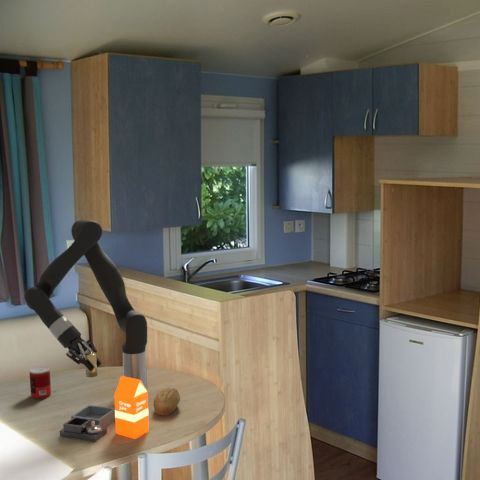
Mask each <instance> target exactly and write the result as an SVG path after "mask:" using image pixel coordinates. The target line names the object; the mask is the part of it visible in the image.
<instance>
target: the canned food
mask: <svg viewBox="0 0 480 480" xmlns="http://www.w3.org/2000/svg"><path fill="white" fill-rule="evenodd" d="M50 369H51V368H50V367H48V366H44V365H43V366H35V367H33V368H31V369H29V386H30V396H31V398H32V399H34V400H42V399H46V398H49V397H50V396H51V395H52V387H51V386H52V385H51V370H50Z"/></svg>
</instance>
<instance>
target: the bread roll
mask: <svg viewBox="0 0 480 480" xmlns="http://www.w3.org/2000/svg"><path fill="white" fill-rule="evenodd" d="M180 401H181V395H180V393H179V390H178V389H176V388H171V387H170V388H169V387H168V388H162V389H161V390H159V391H158V392H157V393H156V395H155V396H154V399H153V408H154V411H155V413H156V414H157V415H159V416H162V417H166V416H168V415H170V414H172V413H173V412H174V411H175V410H176V408H178V405H179V403H180Z"/></svg>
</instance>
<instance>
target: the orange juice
mask: <svg viewBox="0 0 480 480" xmlns="http://www.w3.org/2000/svg"><path fill="white" fill-rule="evenodd" d="M148 392H149V391H148V389H147V390H146V388H145V387H144V385H143V384H142V382H141V381H140V380H139V379H134V378H130V377H125V376H123V375H121V376H120V379H119V382H118V384H117V387H116V389H115V392H114V396H113V397H114V408H115V420H114V421H115V434H117V435H120V436H124V437H126V438H131V439H134V440H136V439H139V438H140V437H141V436H143V435H144V434H147V433H149V431H150V428H149V425H150V424H149V397H148V396H149V395H148V394H149V393H148Z"/></svg>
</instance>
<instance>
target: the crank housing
mask: <svg viewBox="0 0 480 480" xmlns="http://www.w3.org/2000/svg"><path fill="white" fill-rule="evenodd" d="M58 433H59V437H61V438H67V439H72V440H73V439H74V440H78V441H85V442H92V443H95V442H97V441H98V440H100V438H102V437H103V436H105V435H106V434H108V429H107V426H106V427H101V426H100V425H95V421H92V419H87V418H81V417H74V418H72V419H69V420H68V421H66V422H64V424H63V428H62V429H60V430H59V431H58Z"/></svg>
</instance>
